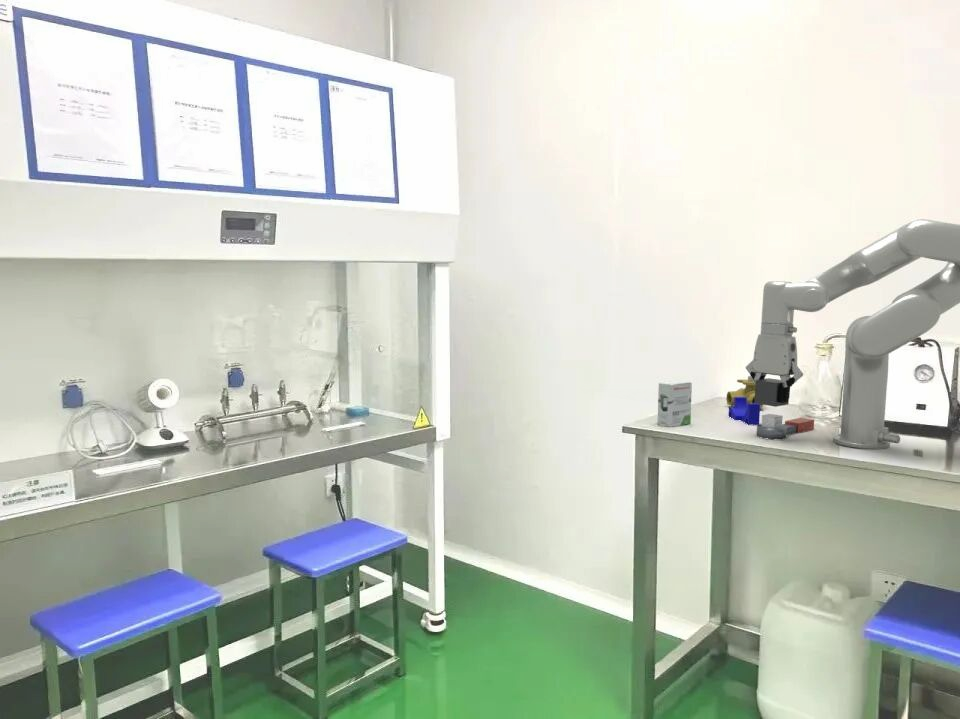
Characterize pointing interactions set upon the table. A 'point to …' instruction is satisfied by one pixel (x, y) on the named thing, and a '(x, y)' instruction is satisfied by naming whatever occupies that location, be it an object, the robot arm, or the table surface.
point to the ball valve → (743, 392)
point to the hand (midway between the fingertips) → (771, 399)
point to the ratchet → (782, 426)
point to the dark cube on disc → (768, 392)
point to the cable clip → (745, 411)
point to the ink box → (674, 403)
